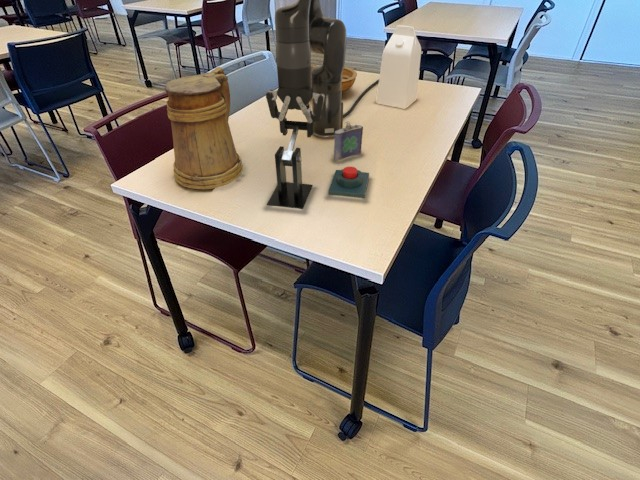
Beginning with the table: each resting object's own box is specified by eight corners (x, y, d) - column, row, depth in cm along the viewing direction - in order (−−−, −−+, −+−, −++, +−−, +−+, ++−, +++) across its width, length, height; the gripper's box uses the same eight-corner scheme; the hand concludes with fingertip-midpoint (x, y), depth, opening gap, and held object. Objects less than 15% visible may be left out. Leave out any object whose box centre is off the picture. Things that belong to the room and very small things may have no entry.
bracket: (279, 185, 100) (275, 139, 92) (313, 188, 99) (312, 142, 90) (267, 208, 92) (261, 160, 84) (303, 212, 90) (301, 164, 82)
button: (344, 171, 98) (344, 165, 97) (357, 173, 97) (358, 167, 96) (341, 178, 95) (342, 172, 94) (356, 180, 95) (356, 174, 94)
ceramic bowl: (343, 109, 141) (344, 87, 136) (284, 102, 148) (283, 80, 143) (364, 85, 163) (365, 65, 158) (312, 80, 169) (311, 60, 164)
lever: (287, 125, 94) (285, 118, 92) (309, 127, 93) (308, 120, 91) (276, 165, 89) (274, 158, 87) (299, 167, 88) (297, 160, 86)
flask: (336, 163, 109) (337, 127, 102) (331, 159, 111) (331, 124, 104) (362, 155, 113) (365, 120, 106) (357, 152, 114) (359, 117, 108)
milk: (416, 99, 149) (427, 25, 132) (404, 109, 142) (415, 31, 125) (388, 94, 154) (395, 21, 138) (375, 103, 147) (382, 27, 130)
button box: (335, 176, 103) (336, 162, 101) (368, 179, 102) (369, 165, 99) (328, 197, 95) (328, 183, 93) (364, 201, 94) (365, 187, 91)
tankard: (161, 184, 100) (131, 88, 85) (210, 147, 118) (192, 61, 102) (220, 197, 96) (200, 97, 80) (262, 156, 113) (252, 67, 97)
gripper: (329, 59, 85) (328, 131, 96) (267, 56, 87) (273, 127, 98) (322, 69, 79) (322, 144, 90) (257, 65, 81) (264, 139, 92)
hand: (297, 135), depth 94 cm, fingers closed on lever, 5 cm apart
